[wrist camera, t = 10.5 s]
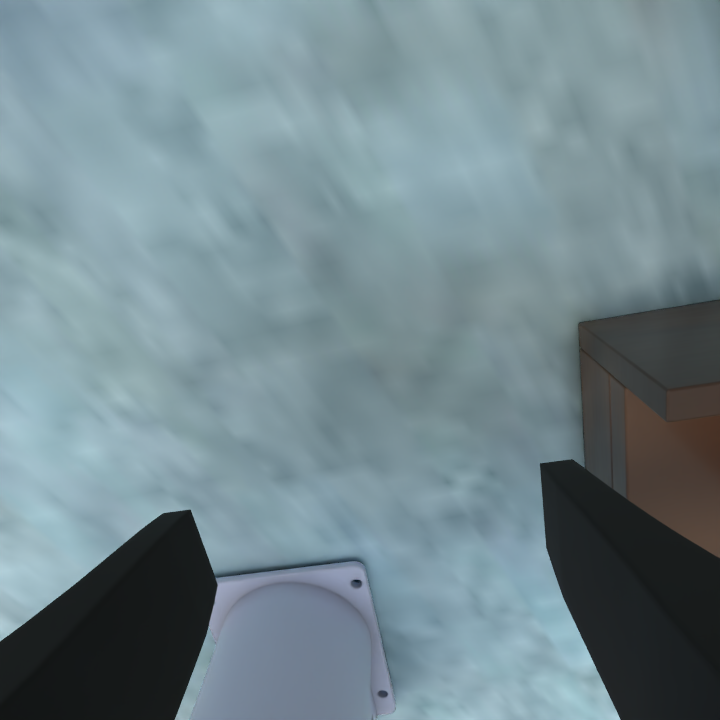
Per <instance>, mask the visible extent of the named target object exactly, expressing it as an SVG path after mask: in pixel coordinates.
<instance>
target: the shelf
mask: <svg viewBox="0 0 720 720" xmlns="http://www.w3.org/2000/svg"><path fill="white" fill-rule="evenodd" d="M579 345H580V347H581V348H580V364H581V385H582V406H583V427H584V447H585V468H586V470H588V471H589V472H590V473H592V474H593V475H595V476H596V477H597V478H599V479H600V480H601V481H603V482H604V483H605V484H607V485H608V486H610V487H611V488H612V489H614V490H615V491H616V492H618V493H619V494H621V495H622V496H623V497H625V498H626V499H628V500H629V501H630V502H632V503H633V504H635V505H636V506H638V507H639V508H641V509H642V510H644V511H645V512H646V513H648V514H649V515H651V516H652V517H654V518H655V519H657V520H658V521H660V522H661V523H663V524H665V525H666V526H668V527H669V528H671V529H672V530H674V531H675V532H677V533H679V534H680V535H682V536H684V537H685V538H687V539H689V540H690V541H692V542H693V543H695V544H697V545H698V546H700V547H702V548H703V549H705V550H707V551H708V552H710V553H712V554H713V555H715V556H717V557H719V558H720V300H717V301H711V302H705V303H698V304H692V305H686V306H680V307H674V308H668V309H662V310H655V311H649V312H643V313H637V314H631V315H625V316H619V317H612V318H606V319H600V320H594V321H588V322H582V323H579Z"/></svg>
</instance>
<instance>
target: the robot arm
mask: <svg viewBox="0 0 720 720" xmlns="http://www.w3.org/2000/svg"><path fill="white" fill-rule="evenodd" d="M540 470H541V483H542V496H543V509H544V522H545V535H546V548H547V551H548V554H549V557H550V560H551V563H552V566H553V569H554V572H555V575H556V578H557V581H558V584H559V587H560V589H561V592H562V595H563V598H564V600H565V602H566V604H567V606H568V609H569V611H570V613H571V615H572V617H573V619H574V621H575V624H576V626H577V628H578V630H579V632H580V634H581V636H582V639H583V641H584V643H585V645H586V647H587V649H588V651H589V653H590V655H591V658H592V660H593V662H594V664H595V666H596V668H597V670H598V672H599V674H600V677H601V679H602V681H603V683H604V685H605V687H606V689H607V691H608V693H609V696H610V698H611V700H612V702H613V704H614V706H615V708H616V710H617V712H618V715H619V717H620V719H621V720H720V558H719V557H717V556H715V555H713V554H712V553H710V552H708V551H707V550H705V549H703V548H702V547H700V546H698V545H697V544H695V543H693V542H692V541H690V540H689V539H687V538H685V537H684V536H682V535H680V534H679V533H677V532H675V531H674V530H672V529H671V528H669V527H668V526H666V525H665V524H663V523H661V522H660V521H658V520H657V519H655V518H654V517H652V516H651V515H649V514H648V513H646V512H645V511H644V510H642V509H641V508H639V507H638V506H636V505H635V504H633V503H632V502H630V501H629V500H628V499H626V498H625V497H623V496H622V495H621V494H619V493H618V492H616V491H615V490H614V489H612V488H611V487H610V486H608V485H607V484H605V483H604V482H603V481H601V480H600V479H599V478H597V477H596V476H595V475H593V474H592V473H590V472H589V471H588V470H586V469H585V468H584V467H582V466H581V465H580V464H578V463H577V462H575V461H574V460H573V459H571V460H563V461H556V462H548V463H540ZM355 579H356V580H360V582H354V581H353V580H355ZM208 626H209V627H210V630H211V633H212V635H213V638H214V641H215V643H216V646H215V649H214V652H213V655H212V658H211V660H210V663H209V666H208V669H207V672H206V674H205V677H204V680H203V683H202V686H201V689H200V691H199V694H198V697H197V700H196V703H195V705H194V708H193V711H192V714H191V717H190V720H376V716H377V715H388V714H391V713H393V712H394V711H395V709H396V700H395V696H394V692H393V687H392V683H391V678H390V674H389V670H388V665H387V661H386V656H385V652H384V648H383V643H382V639H381V634H380V630H379V626H378V621H377V617H376V612H375V608H374V604H373V599H372V595H371V590H370V586H369V582H368V577H367V573H366V569H365V566H364V565H363V564H362V563H360V562H358V561H350V562H342V563H333V564H325V565H317V566H309V567H301V568H293V569H284V570H276V571H268V572H260V573H252V574H244V575H235V576H227V577H219V578H215V576H214V573H213V570H212V567H211V565H210V562H209V559H208V556H207V554H206V551H205V548H204V545H203V543H202V540H201V537H200V534H199V532H198V529H197V526H196V523H195V521H194V518H193V515H192V512H191V510H185V511H177V512H170V513H163V514H162V515H160V516H159V517H157V518H156V519H155V520H153V521H152V522H151V523H149V524H148V525H147V526H145V527H144V528H143V529H142V530H140V531H139V532H138V533H137V534H135V535H134V536H133V537H132V538H130V539H129V540H128V541H127V542H126V543H124V544H123V545H122V546H121V547H120V548H118V549H117V550H116V551H115V552H114V553H112V554H111V555H110V556H109V557H107V558H106V559H105V560H104V561H103V562H101V563H100V564H99V565H98V566H97V567H95V568H94V569H93V570H92V571H91V572H89V573H88V574H87V575H86V576H84V577H83V578H82V579H81V580H80V581H78V582H77V583H76V584H75V585H74V586H72V587H71V588H70V589H68V590H67V591H66V592H65V593H63V594H62V595H61V596H59V597H58V598H57V599H56V600H54V601H53V602H52V603H50V604H49V605H48V606H47V607H45V608H44V609H43V610H41V611H40V612H39V613H38V614H36V615H35V616H34V617H32V618H31V619H30V620H29V621H27V622H26V623H25V624H23V625H22V626H21V627H19V628H18V629H17V630H15V631H14V632H13V633H11V634H10V635H9V636H7V637H6V638H4V639H3V640H2V641H0V720H175V717H176V715H177V712H178V709H179V707H180V704H181V701H182V699H183V696H184V694H185V691H186V688H187V686H188V683H189V680H190V678H191V675H192V672H193V670H194V667H195V664H196V662H197V659H198V656H199V653H200V651H201V648H202V645H203V642H204V640H205V637H206V634H207V630H208Z"/></svg>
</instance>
